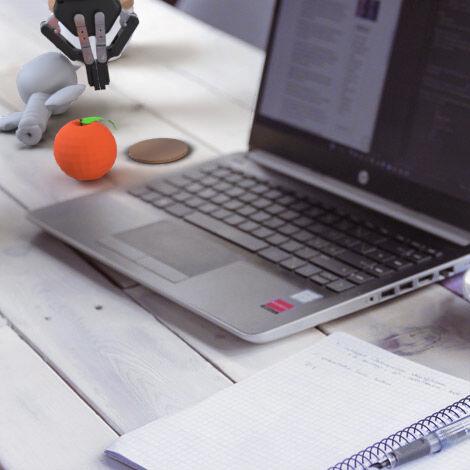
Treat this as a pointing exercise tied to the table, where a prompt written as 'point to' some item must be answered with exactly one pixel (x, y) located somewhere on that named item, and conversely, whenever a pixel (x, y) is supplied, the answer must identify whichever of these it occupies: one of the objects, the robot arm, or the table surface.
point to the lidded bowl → (126, 3)
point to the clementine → (85, 149)
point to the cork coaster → (158, 150)
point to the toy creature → (43, 95)
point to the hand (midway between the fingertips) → (99, 88)
